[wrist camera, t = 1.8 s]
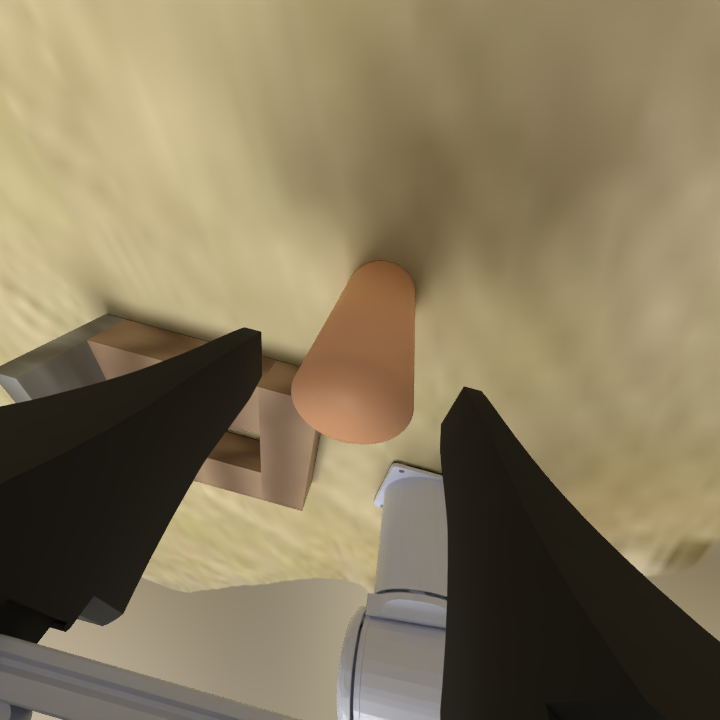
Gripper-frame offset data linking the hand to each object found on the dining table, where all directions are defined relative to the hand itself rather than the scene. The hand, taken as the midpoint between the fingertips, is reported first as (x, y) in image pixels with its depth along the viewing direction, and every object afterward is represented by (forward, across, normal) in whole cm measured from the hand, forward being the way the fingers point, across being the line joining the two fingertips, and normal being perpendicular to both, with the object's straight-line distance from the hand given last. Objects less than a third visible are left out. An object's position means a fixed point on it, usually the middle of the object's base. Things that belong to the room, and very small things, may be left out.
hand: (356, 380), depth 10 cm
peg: (+8, 0, 0) cm, 8 cm away
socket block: (+8, +11, +15) cm, 20 cm away
